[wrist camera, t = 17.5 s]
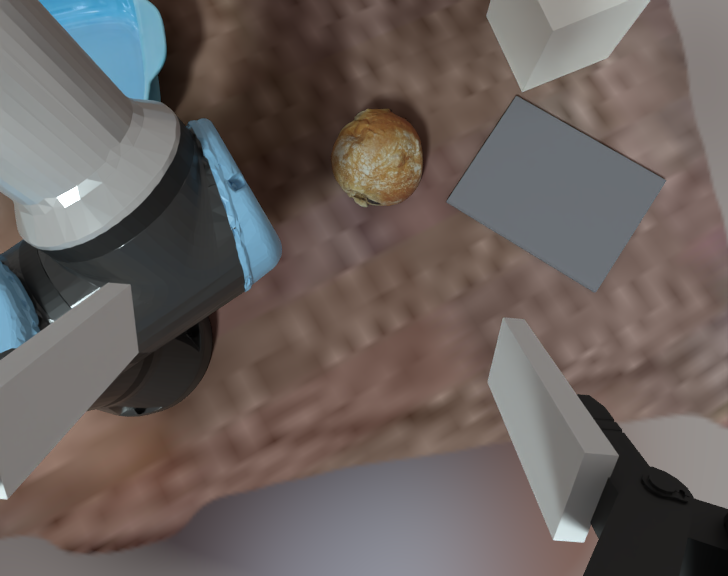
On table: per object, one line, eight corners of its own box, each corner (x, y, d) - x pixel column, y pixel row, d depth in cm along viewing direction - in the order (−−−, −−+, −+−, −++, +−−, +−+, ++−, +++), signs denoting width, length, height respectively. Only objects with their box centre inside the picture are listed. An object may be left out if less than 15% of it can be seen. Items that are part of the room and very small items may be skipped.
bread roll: (334, 197, 54) (320, 208, 47) (340, 105, 51) (326, 100, 43) (417, 205, 53) (417, 217, 46) (428, 112, 50) (430, 108, 42)
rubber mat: (446, 202, 49) (446, 200, 49) (515, 98, 50) (516, 95, 50) (594, 292, 47) (596, 291, 47) (663, 182, 48) (666, 180, 47)
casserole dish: (178, -15, 55) (146, -67, 48) (206, 157, 52) (176, 129, 45) (-104, 54, 57) (-175, 13, 50) (-92, 224, 54) (-166, 207, 47)
